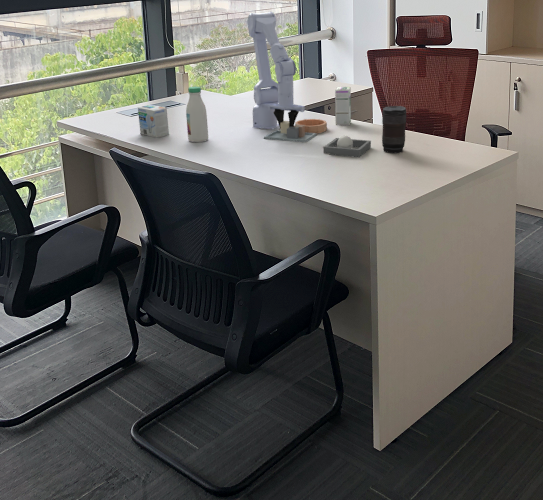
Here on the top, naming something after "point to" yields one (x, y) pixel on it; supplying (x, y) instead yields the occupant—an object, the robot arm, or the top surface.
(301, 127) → the cardboard tan cube
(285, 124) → the cream matte cube
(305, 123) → the bowl
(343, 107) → the syrup box
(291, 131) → the plain grey cube
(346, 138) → the pale grey egg
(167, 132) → the light bulb box
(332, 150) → the grey square tray
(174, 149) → the top surface
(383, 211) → the top surface
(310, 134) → the parts tray
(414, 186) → the top surface
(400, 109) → the camera lens
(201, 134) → the milk bottle
